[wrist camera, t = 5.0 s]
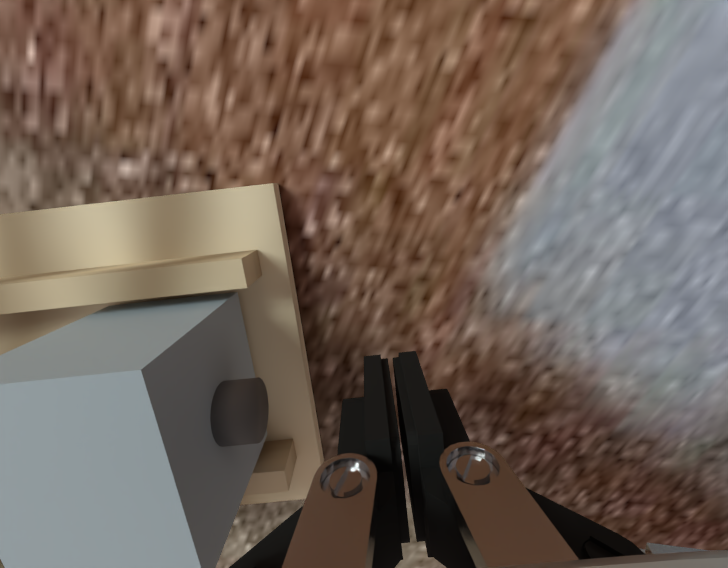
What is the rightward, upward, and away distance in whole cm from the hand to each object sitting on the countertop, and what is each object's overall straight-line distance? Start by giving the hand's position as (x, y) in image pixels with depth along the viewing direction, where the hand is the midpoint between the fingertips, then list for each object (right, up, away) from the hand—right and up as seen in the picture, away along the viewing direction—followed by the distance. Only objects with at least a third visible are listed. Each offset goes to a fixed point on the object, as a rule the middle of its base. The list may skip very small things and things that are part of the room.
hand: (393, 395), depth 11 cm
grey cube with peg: (-7, -2, +3) cm, 8 cm away
